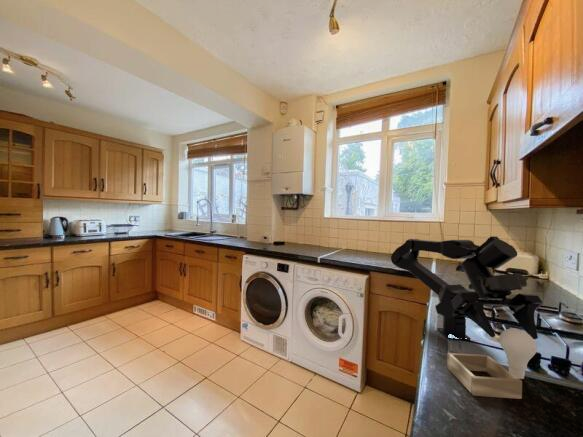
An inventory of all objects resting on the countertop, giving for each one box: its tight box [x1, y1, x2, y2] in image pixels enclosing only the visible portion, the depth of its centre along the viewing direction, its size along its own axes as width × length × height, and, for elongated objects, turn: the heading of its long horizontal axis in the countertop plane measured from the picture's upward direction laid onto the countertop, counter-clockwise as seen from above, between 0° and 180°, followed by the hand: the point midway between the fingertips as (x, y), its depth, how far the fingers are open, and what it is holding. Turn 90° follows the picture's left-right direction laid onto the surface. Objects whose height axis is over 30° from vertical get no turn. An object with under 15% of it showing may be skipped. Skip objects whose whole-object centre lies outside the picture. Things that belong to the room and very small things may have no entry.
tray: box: [446, 352, 523, 400], centre depth 53 cm, size 9×9×4 cm
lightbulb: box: [499, 327, 538, 380], centre depth 54 cm, size 6×6×11 cm
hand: (514, 337), depth 55 cm, fingers open, 9 cm apart
